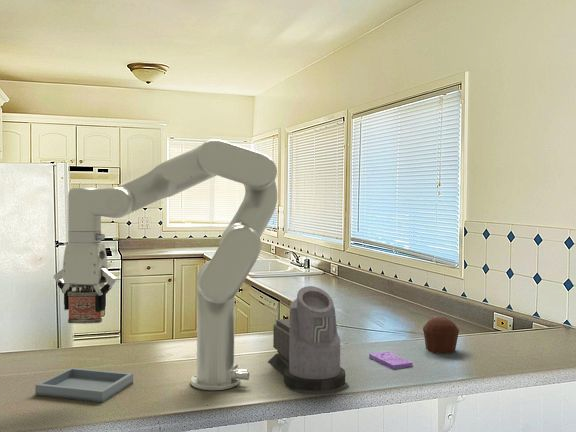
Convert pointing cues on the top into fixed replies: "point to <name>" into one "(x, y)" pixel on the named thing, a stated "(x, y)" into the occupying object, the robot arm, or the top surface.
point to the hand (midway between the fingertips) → (84, 309)
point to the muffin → (440, 335)
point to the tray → (84, 384)
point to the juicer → (309, 345)
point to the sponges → (390, 360)
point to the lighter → (83, 305)
